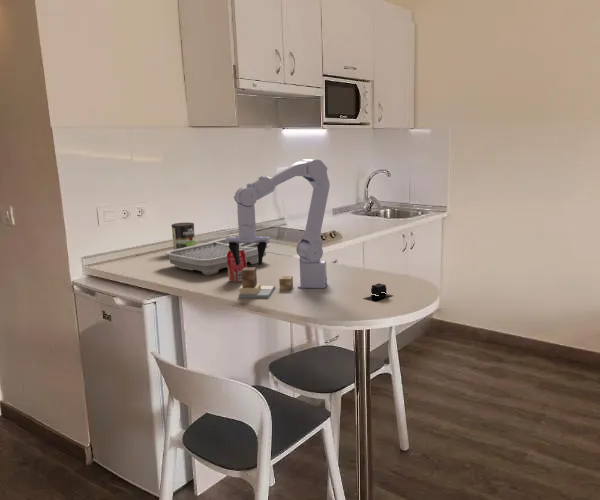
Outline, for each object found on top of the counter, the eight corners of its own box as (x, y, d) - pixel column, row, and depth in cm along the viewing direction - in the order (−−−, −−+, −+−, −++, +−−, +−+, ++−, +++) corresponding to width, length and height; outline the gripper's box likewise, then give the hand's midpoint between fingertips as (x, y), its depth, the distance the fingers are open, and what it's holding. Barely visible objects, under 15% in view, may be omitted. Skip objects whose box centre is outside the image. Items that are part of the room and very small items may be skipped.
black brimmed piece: (382, 293, 180) (383, 279, 179) (400, 297, 175) (400, 283, 174) (357, 300, 172) (357, 286, 171) (374, 305, 167) (375, 291, 166)
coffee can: (200, 252, 253) (198, 223, 250) (183, 256, 245) (181, 226, 242) (186, 250, 259) (183, 221, 256) (169, 254, 251) (166, 224, 248)
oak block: (293, 287, 189) (292, 276, 188) (291, 290, 185) (290, 279, 184) (281, 287, 190) (281, 276, 189) (279, 290, 186) (279, 279, 185)
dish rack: (160, 268, 224) (158, 250, 223) (229, 253, 250) (228, 236, 248) (205, 280, 203) (204, 259, 201) (276, 262, 228) (275, 244, 227)
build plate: (275, 288, 188) (274, 279, 187) (268, 298, 176) (268, 289, 176) (247, 288, 189) (246, 279, 189) (238, 297, 178) (238, 289, 177)
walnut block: (256, 284, 182) (256, 267, 181) (254, 287, 178) (253, 270, 177) (245, 284, 183) (244, 267, 181) (242, 287, 179) (241, 270, 178)
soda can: (238, 277, 205) (236, 246, 202) (251, 279, 200) (249, 248, 198) (224, 281, 200) (222, 249, 197) (237, 284, 195) (235, 251, 193)
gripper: (222, 226, 174) (224, 267, 177) (266, 226, 172) (268, 267, 174) (228, 223, 181) (230, 262, 183) (270, 222, 179) (272, 262, 181)
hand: (249, 264), depth 179 cm, fingers open, 7 cm apart
